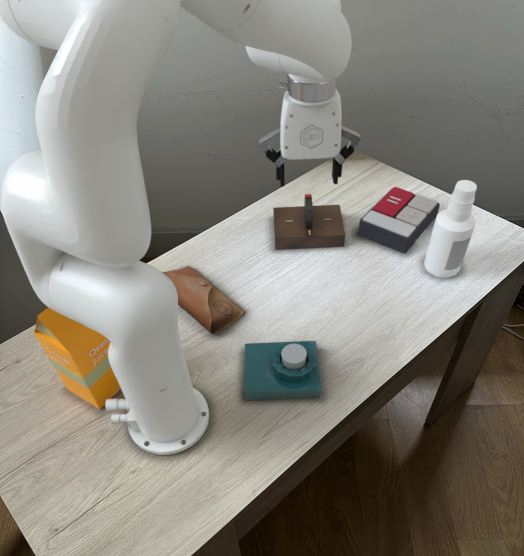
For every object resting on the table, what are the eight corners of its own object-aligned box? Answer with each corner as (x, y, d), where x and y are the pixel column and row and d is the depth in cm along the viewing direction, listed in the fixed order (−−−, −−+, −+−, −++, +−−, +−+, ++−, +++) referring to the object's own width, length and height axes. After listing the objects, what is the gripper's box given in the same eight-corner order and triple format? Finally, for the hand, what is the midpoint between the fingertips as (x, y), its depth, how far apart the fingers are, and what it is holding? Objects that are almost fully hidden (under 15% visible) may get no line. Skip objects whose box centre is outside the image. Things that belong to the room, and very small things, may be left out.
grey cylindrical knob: (282, 370, 82) (281, 363, 81) (281, 350, 85) (280, 343, 83) (307, 369, 82) (307, 362, 81) (305, 349, 84) (305, 342, 83)
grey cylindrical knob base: (245, 400, 83) (244, 386, 80) (245, 351, 89) (244, 336, 86) (320, 397, 83) (321, 383, 80) (315, 348, 89) (316, 333, 86)
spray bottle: (460, 280, 98) (489, 199, 84) (423, 276, 99) (445, 196, 85) (459, 256, 102) (486, 175, 88) (423, 252, 103) (444, 172, 89)
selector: (275, 249, 105) (274, 237, 103) (273, 219, 112) (273, 206, 109) (344, 246, 105) (345, 234, 103) (338, 216, 111) (339, 203, 109)
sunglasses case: (248, 310, 94) (231, 298, 89) (224, 341, 95) (206, 331, 89) (187, 263, 103) (168, 249, 97) (166, 292, 103) (146, 279, 98)
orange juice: (66, 389, 86) (16, 306, 70) (104, 353, 90) (65, 267, 75) (100, 410, 83) (56, 328, 67) (137, 372, 87) (104, 287, 72)
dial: (312, 228, 104) (313, 208, 101) (305, 228, 104) (306, 208, 101) (310, 212, 108) (311, 193, 104) (304, 213, 108) (304, 193, 104)
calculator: (441, 200, 107) (409, 236, 99) (436, 217, 111) (405, 254, 103) (393, 183, 112) (359, 217, 104) (390, 200, 115) (356, 234, 107)
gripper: (257, 99, 79) (261, 195, 93) (370, 94, 79) (358, 191, 93) (256, 77, 84) (260, 172, 97) (363, 72, 84) (352, 167, 97)
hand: (308, 181), depth 95 cm, fingers open, 9 cm apart
